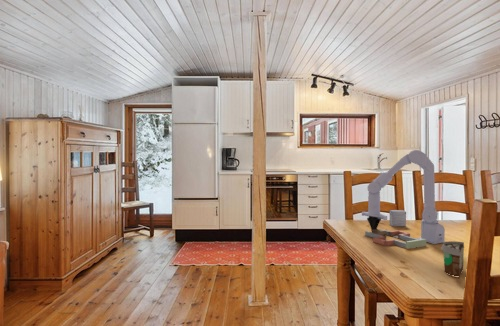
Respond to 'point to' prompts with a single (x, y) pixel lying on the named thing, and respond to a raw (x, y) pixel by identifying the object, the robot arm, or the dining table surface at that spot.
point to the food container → (453, 257)
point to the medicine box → (397, 218)
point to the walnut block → (379, 232)
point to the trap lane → (400, 235)
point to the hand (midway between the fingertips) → (373, 231)
